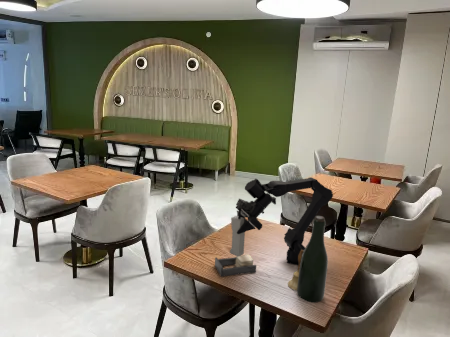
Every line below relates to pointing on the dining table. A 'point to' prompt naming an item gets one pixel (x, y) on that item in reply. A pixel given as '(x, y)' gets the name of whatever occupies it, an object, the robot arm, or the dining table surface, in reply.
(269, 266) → the dining table surface
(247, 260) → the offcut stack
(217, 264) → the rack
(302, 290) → the beer bottle
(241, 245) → the vintage mobile phone
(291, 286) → the hand bell
